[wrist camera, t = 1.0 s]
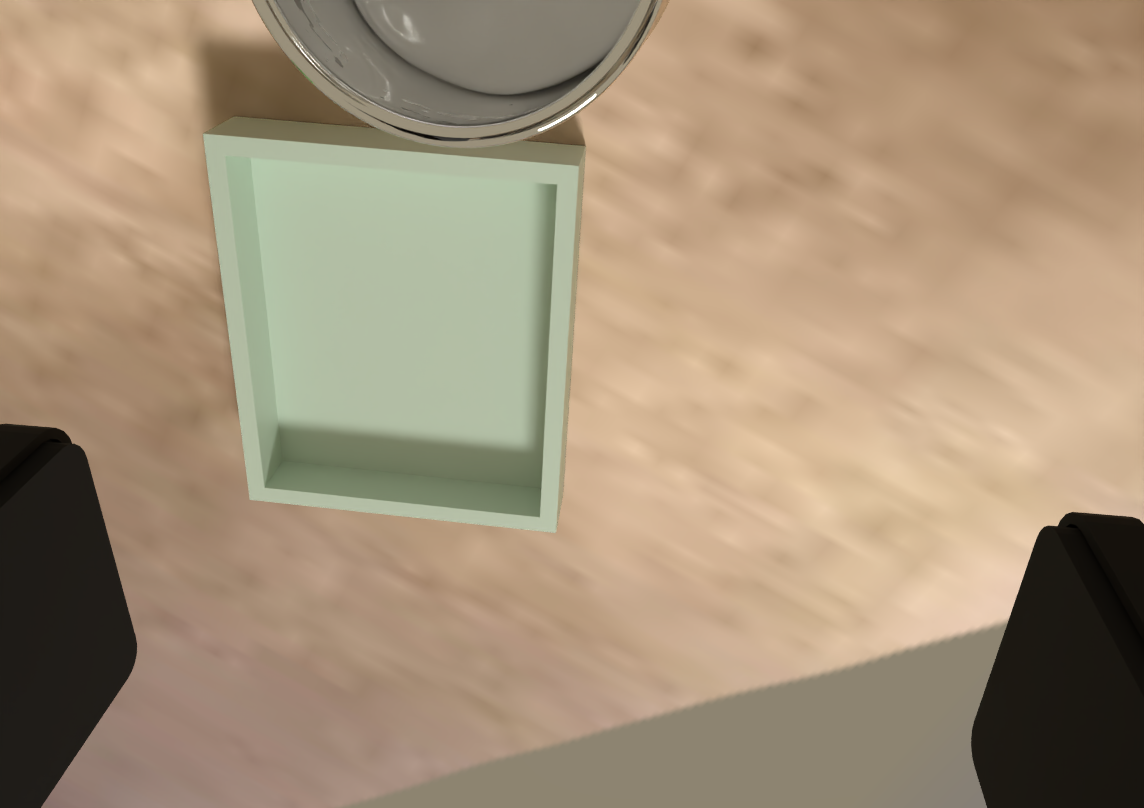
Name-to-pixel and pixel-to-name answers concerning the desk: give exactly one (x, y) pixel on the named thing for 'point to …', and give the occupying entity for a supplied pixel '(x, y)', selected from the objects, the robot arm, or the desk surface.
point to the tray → (399, 318)
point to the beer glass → (461, 60)
